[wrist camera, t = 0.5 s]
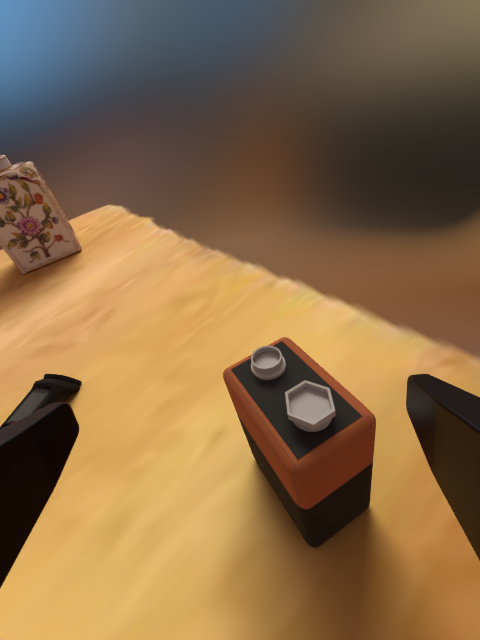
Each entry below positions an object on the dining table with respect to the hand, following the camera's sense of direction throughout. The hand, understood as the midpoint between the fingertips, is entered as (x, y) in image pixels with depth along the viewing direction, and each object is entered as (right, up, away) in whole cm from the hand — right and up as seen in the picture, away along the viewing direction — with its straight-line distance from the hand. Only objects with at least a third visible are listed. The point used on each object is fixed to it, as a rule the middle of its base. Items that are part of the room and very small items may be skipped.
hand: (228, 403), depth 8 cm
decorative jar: (-38, +16, +56) cm, 70 cm away
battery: (+5, -8, +12) cm, 15 cm away
